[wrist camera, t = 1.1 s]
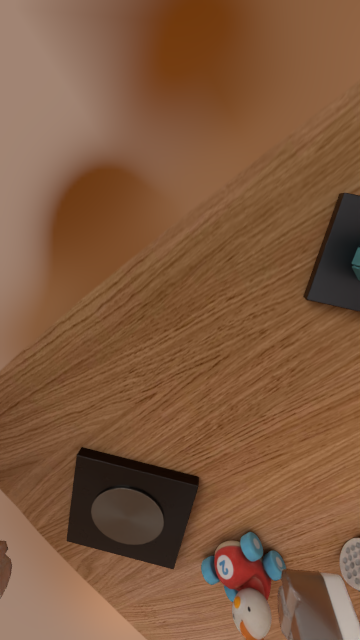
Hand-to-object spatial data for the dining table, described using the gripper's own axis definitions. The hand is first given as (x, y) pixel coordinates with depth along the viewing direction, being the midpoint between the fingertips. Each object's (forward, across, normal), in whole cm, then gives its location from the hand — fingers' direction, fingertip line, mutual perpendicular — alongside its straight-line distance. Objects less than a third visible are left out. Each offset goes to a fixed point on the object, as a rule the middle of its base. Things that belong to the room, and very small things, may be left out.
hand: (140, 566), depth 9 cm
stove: (+26, +7, +29) cm, 39 cm away
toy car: (+25, -8, +36) cm, 45 cm away
